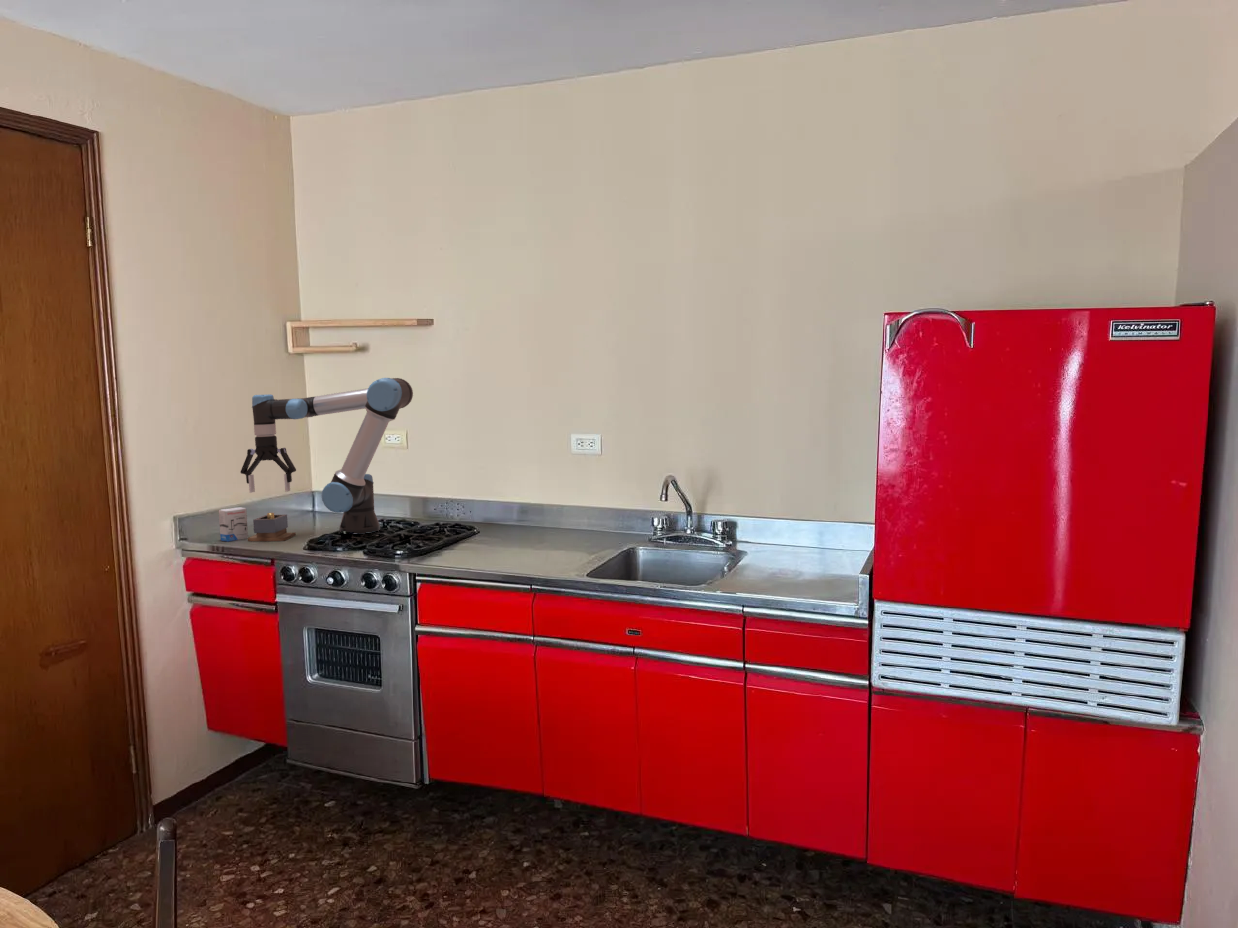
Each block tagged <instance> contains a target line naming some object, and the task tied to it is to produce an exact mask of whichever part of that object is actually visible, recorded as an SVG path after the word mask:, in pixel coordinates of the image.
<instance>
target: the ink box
mask: <svg viewBox="0 0 1238 928" xmlns="http://www.w3.org/2000/svg"><path fill="white" fill-rule="evenodd" d="M247 512H248V511H247V508H246V507H241V506H239V507H231V508H223V509H222V508H221V509H219V510H218V520H219V521H218V522H219V535H220V537H219V538H220V541H221V542H222V541H223V542H228V543H229V542H234V541H240V540H245V539H248V538H249V535H248V534H249V533H248V515H247V514H248V513H247Z"/></svg>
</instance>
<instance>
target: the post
mask: <svg viewBox="0 0 1238 928" xmlns="http://www.w3.org/2000/svg"><path fill="white" fill-rule="evenodd" d="M266 515H267V519H274V515H275V512H267V513H266Z"/></svg>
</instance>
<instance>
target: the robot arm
mask: <svg viewBox="0 0 1238 928" xmlns="http://www.w3.org/2000/svg"><path fill="white" fill-rule="evenodd" d="M413 394H414V390H413V388H412V385H411V384H410V383H409V382H408V381H407V380H405V379H403V378H400V377H395V378H394V377H391V378H390V377H382V378H379V379H376V380H373V381H372V383H370V385H369V386H368V388H360V389H355V390H350V391H349V390H348V391H347V390H346V391H342V392H341V391H340V392H336V393H335V392H334V393H329V394H323V395H322V394H321V395H316V396H310V397H309V396H308V397H302V398H301V397H299V398H298V397H297V398H283V399H276V398H274V395H273V394H255V395H253V396H252V398H251V401H252V402H251V405H252V406H251V408H252V418H253V433H254V436H255V437H254V442H255V448H254V449H253V448H248V449H247V451H246V458H245V459H244V461H243V465H242V467H241V469H240V474H242V475H245V479H246V483H247V485H248V490H249V493H250V494H251V493H255V492H256V491H255V490H256V489H255V476H254V474H253V473H254V471H255V470H256V468H257V466H258V465H259V464H260V463H261V461H262V462H263V461H273V462H275V463H276V464H277V466H279V468H280V469H281V470H282V471H283V472H284V474H283V477H284V478H283V479H284V480H283V481H284V492H290V491H291V483H292V481H293V478H292V475H293V474H292V473H295V472H296V471H297V468H296V467H295V465H294V463H293V462H292V460H291V459H290V457H289V455H288V453H287V448H286V447H282V448H281V447H280V448H279V447H278V440H277V439H278V438H277V436H276V435H277V428H276V420H277V421H278V420H301V419H305V418H313V417H317V416H323V415H331V414H337V413H343V412H352V411H358V410H366V414H365V415H364V418H363V420H362V423H361V424H360V427H359V428H358V431H357V433H356V436H355V437H354V440H353V442H352V444H351V447H350V449H349V450H348V453H347V455H346V458H345V460H344V462H343V465H342V466H341V469H338V470H336V471H334V473H333V476H332V478H331V481H330V482H329V483H327V484H325V486H324V487H323V489H322V490H321V501H322V502H323V505H324V506H325V508H326V509H327V510H329V511H331V512H333V513H335V514H337V513H338V514H340V513H342V514H343V515H342V518H341V521H340V524H339V533H340V532H341V531H347V532H354V533H366V532H372V531H378V532H380V531H381V524H380V522H379V520H378V516H377V514H376V512H375V497H374V495H375V494H374V491H375V490H374V481H373V480H374V479H373V475H372V474H370V473H367V471H368V469H369V467H370V464H371V462H372V460H373V458H374V456H375V454H376V451H377V449H378V447H379V446H380V443H381V441H382V439H383V436H384V434H385V431H386V430H387V427H388V425H389V423H390V422H392V421H394V420H396V419H397V418H396V417H397V415H398V413H399V411H400V409H404V408H405V407H407V406H408V405H409V404H410V403H411V402H412V400H413V396H414V395H413ZM255 454H256V455H257V456H256V457H255V459H254V461H253V462H252V460H253V457H254V455H255ZM278 454H280V455H281V457H282V459H283V460H282V459H281V457H280V456H279V455H278ZM251 462H252V463H251ZM379 530H380V531H379Z"/></svg>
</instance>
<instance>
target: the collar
mask: <svg viewBox="0 0 1238 928" xmlns="http://www.w3.org/2000/svg"><path fill="white" fill-rule="evenodd" d="M285 528H286V529H288V528H289V522H288V514H274V519H267V514H266V515H262V516H259V517H258V518H254V519H253V533H254V534H257V533H276V532H278V531H280V530H283V529H285Z"/></svg>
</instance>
